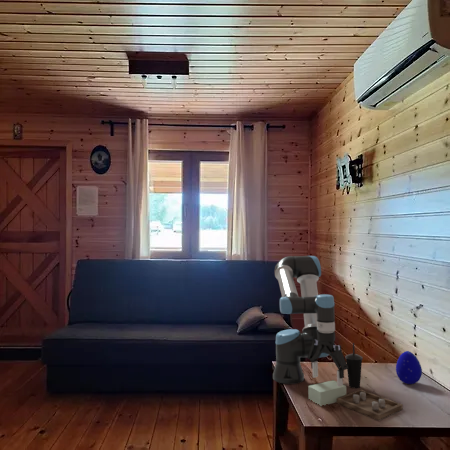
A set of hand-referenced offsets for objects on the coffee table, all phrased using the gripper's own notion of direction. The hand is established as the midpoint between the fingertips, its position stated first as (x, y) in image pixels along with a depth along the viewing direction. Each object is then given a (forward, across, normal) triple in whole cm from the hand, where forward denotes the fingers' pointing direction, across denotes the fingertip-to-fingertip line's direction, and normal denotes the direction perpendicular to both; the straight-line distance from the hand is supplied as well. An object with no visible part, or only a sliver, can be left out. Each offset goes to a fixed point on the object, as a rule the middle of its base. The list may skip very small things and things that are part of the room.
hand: (327, 381), depth 175 cm
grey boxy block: (+8, 0, 0) cm, 8 cm away
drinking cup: (+8, -2, +21) cm, 23 cm away
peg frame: (+8, +14, +8) cm, 19 cm away
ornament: (+8, +10, +44) cm, 46 cm away
